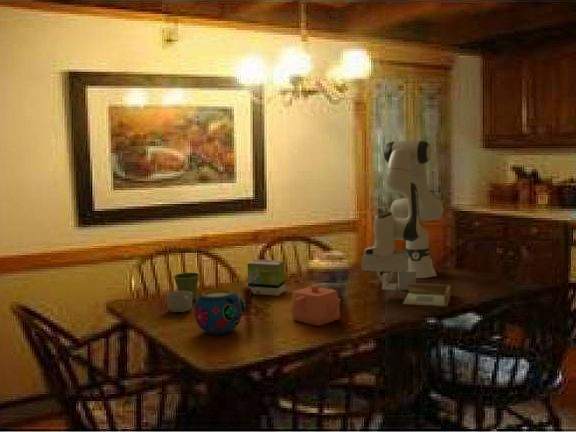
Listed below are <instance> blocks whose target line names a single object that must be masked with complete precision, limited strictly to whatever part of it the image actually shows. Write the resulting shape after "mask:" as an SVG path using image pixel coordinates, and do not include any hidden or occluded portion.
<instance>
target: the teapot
mask: <svg viewBox="0 0 576 432" xmlns="http://www.w3.org/2000/svg"><path fill="white" fill-rule="evenodd" d="M341 301H342V298H339V293H338V291H337V290H335V289H334V288H327V287H320V285H318V284H312V285H310V286H307V287H305V288H301V289H296V290H294V291H292V298H291V317H292V320H294V321H297V322H300V323H304V324H307V325H312V326H316V327H319V326H324V325H327V324H330V323H333V322H334V321H338V320H339V319H340V315H341V313H340V311H341V310H340V304H341Z"/></svg>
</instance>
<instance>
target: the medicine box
mask: <svg viewBox="0 0 576 432" xmlns="http://www.w3.org/2000/svg"><path fill="white" fill-rule="evenodd" d="M397 284H398V288H397V289H398V291H409V284H417V278H416V271H415V270H408V271H407V272H397Z"/></svg>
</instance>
